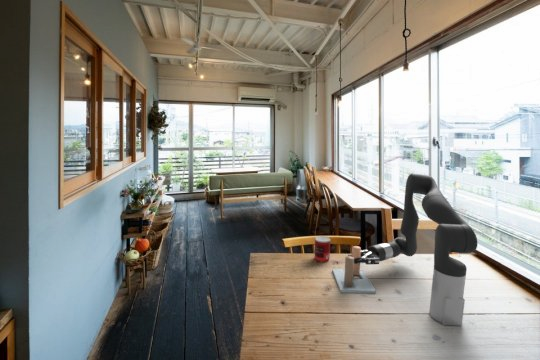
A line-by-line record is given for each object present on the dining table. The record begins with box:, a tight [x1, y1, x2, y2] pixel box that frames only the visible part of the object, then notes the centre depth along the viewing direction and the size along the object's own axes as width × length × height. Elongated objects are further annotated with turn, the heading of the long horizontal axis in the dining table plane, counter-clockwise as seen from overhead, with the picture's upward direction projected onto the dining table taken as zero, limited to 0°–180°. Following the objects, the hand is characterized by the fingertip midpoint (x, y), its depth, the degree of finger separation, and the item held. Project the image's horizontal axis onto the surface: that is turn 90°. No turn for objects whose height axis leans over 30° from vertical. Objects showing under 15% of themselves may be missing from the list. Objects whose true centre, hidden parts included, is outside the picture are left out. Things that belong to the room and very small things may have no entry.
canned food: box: [314, 235, 331, 263], centre depth 141 cm, size 8×8×11 cm
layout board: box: [332, 255, 377, 294], centre depth 119 cm, size 18×14×13 cm
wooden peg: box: [351, 245, 362, 276], centre depth 122 cm, size 3×3×12 cm
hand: (351, 259), depth 120 cm, fingers closed on wooden peg, 3 cm apart
